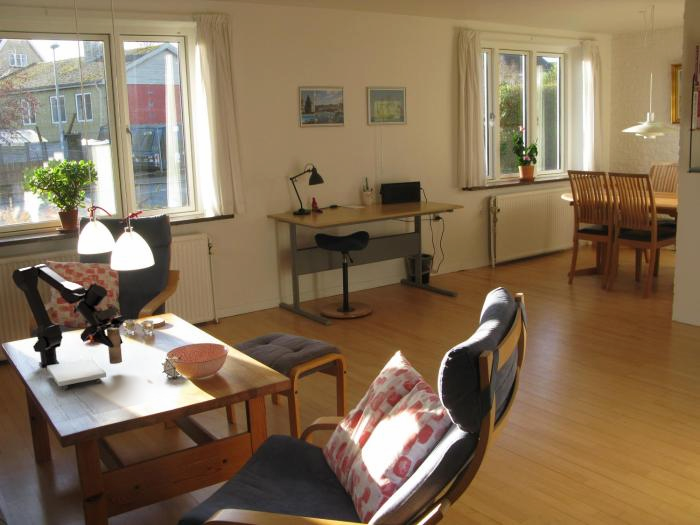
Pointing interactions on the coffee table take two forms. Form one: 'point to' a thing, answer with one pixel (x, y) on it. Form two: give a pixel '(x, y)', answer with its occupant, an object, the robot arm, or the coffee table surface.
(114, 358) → the cylinder
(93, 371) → the caster cart
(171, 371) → the grey spiky ball
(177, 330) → the coffee table surface
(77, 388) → the coffee table surface
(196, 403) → the coffee table surface
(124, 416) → the coffee table surface
